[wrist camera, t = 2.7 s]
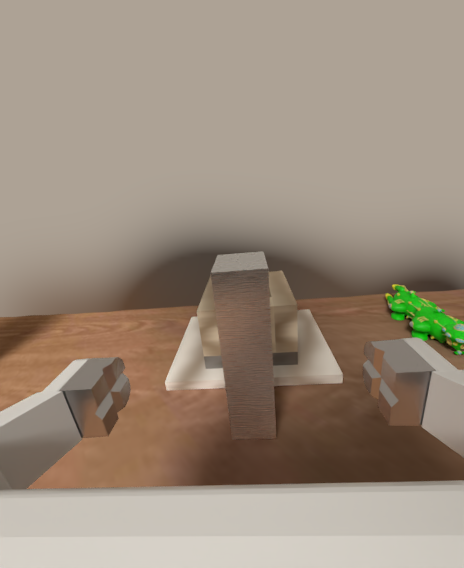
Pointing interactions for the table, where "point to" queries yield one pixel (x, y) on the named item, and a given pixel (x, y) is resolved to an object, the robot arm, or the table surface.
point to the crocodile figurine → (426, 318)
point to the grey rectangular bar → (245, 342)
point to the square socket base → (285, 345)
